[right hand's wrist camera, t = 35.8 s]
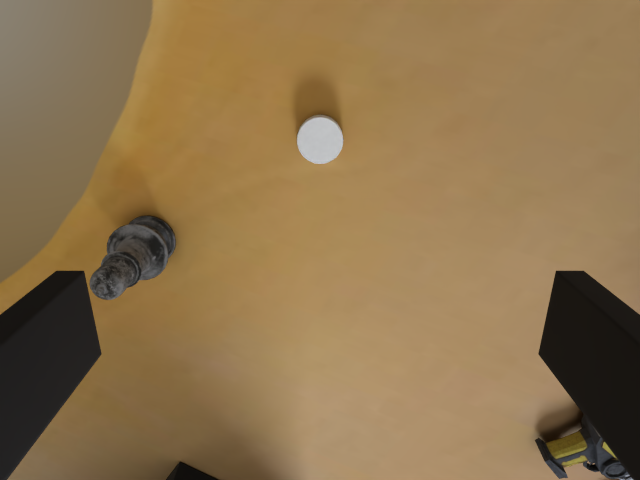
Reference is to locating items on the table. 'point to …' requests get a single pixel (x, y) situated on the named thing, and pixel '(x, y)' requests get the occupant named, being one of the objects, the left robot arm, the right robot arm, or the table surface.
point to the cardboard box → (187, 473)
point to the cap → (320, 139)
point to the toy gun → (582, 453)
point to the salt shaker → (133, 256)
